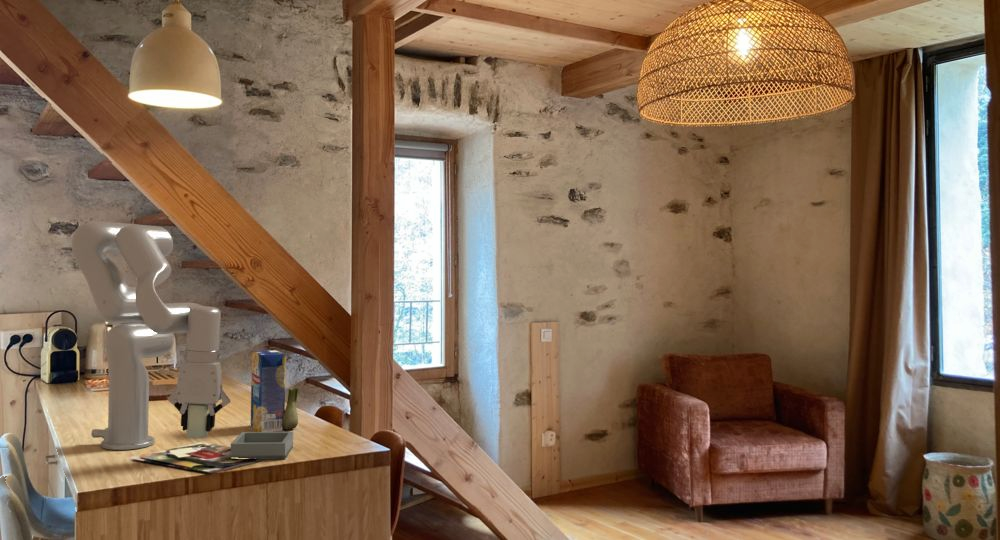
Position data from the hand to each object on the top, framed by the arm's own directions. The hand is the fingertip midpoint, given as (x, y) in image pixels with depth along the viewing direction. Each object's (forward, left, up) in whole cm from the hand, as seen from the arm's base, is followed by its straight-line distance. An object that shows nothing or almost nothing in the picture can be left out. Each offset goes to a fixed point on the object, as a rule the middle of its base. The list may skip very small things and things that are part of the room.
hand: (197, 429), depth 193 cm
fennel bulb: (+17, +31, -7) cm, 36 cm away
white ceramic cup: (0, 0, -2) cm, 2 cm away
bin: (+15, +3, -7) cm, 17 cm away
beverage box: (+11, +33, -7) cm, 36 cm away
